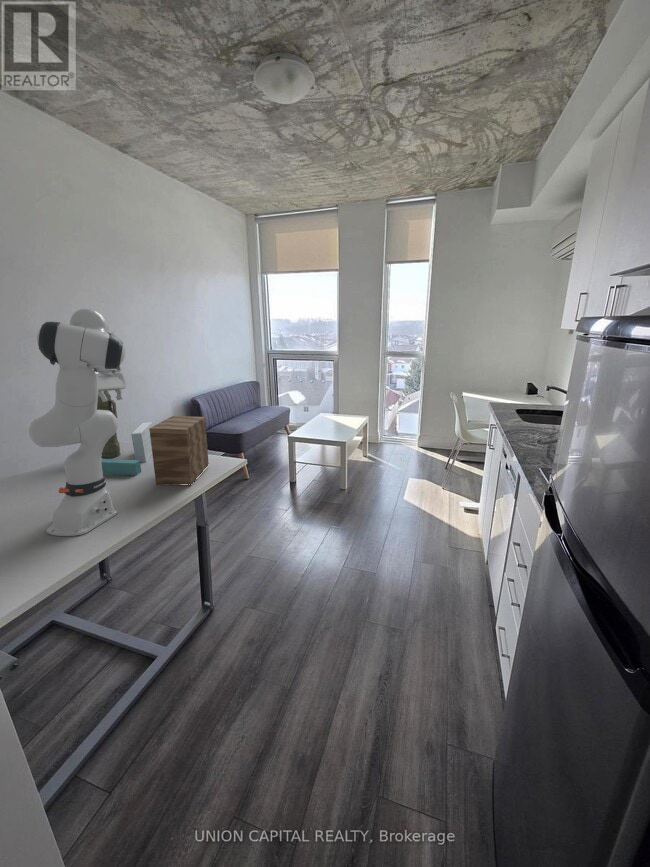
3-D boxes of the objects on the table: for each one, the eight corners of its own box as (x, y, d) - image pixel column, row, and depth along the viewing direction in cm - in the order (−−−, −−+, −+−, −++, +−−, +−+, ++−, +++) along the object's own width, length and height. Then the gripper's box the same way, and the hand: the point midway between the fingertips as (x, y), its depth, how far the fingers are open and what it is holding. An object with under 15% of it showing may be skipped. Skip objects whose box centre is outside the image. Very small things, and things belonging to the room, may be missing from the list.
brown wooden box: (191, 485, 161) (186, 429, 153) (156, 484, 161) (149, 428, 154) (208, 467, 182) (205, 417, 174) (177, 466, 182) (172, 415, 175)
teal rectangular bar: (136, 475, 170) (135, 463, 169) (87, 473, 171) (84, 461, 169) (141, 472, 174) (139, 460, 173) (92, 470, 175) (90, 458, 173)
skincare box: (146, 449, 205) (142, 422, 201) (156, 448, 206) (153, 422, 202) (134, 462, 185) (130, 433, 181) (146, 462, 186) (142, 432, 182)
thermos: (119, 458, 191) (110, 392, 181) (95, 458, 190) (84, 392, 179) (126, 452, 199) (117, 389, 189) (103, 452, 198) (93, 389, 188)
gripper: (91, 366, 141) (103, 400, 143) (123, 367, 161) (133, 397, 163) (76, 370, 142) (89, 404, 144) (110, 370, 162) (121, 400, 164)
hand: (113, 400), depth 154 cm, fingers open, 8 cm apart
